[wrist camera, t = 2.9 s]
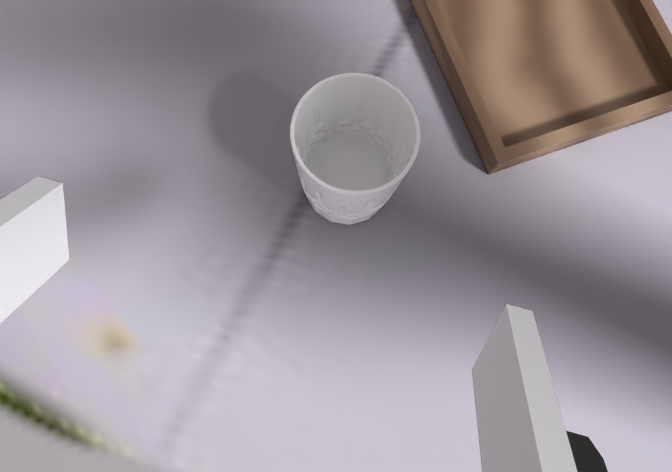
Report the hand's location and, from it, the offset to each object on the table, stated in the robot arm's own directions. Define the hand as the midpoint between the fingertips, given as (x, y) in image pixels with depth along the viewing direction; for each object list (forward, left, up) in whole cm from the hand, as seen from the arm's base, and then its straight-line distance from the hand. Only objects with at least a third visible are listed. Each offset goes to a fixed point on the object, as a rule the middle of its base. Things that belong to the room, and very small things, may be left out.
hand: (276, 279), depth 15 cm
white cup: (-7, -9, -24) cm, 26 cm away
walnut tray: (-27, -15, -23) cm, 39 cm away
